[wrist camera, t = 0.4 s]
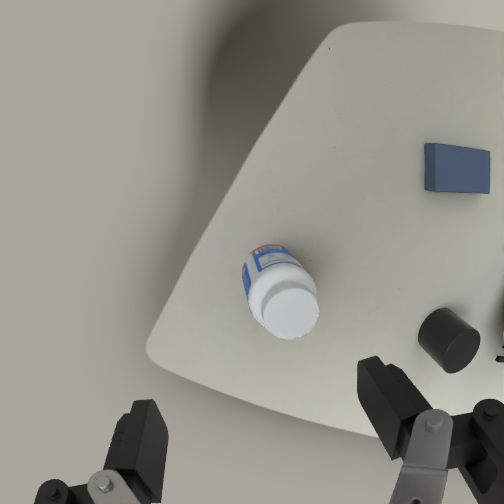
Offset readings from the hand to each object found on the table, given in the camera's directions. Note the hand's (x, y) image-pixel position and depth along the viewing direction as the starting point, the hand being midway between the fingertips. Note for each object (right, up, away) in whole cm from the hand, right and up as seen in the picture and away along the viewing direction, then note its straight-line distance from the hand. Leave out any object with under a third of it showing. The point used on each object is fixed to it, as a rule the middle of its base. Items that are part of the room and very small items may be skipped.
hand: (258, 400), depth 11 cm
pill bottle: (+1, +4, +20) cm, 20 cm away
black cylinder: (+23, -4, +24) cm, 34 cm away
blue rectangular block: (+22, +15, +19) cm, 33 cm away
